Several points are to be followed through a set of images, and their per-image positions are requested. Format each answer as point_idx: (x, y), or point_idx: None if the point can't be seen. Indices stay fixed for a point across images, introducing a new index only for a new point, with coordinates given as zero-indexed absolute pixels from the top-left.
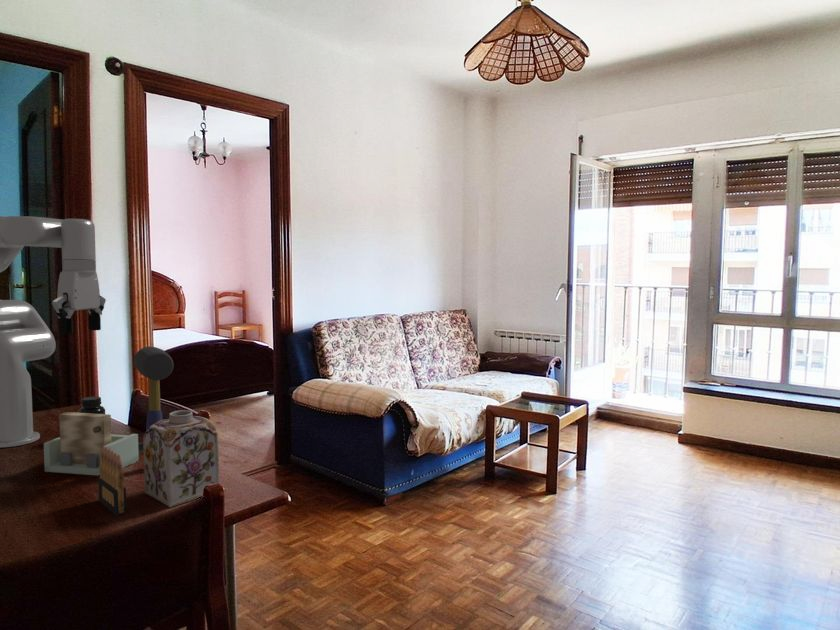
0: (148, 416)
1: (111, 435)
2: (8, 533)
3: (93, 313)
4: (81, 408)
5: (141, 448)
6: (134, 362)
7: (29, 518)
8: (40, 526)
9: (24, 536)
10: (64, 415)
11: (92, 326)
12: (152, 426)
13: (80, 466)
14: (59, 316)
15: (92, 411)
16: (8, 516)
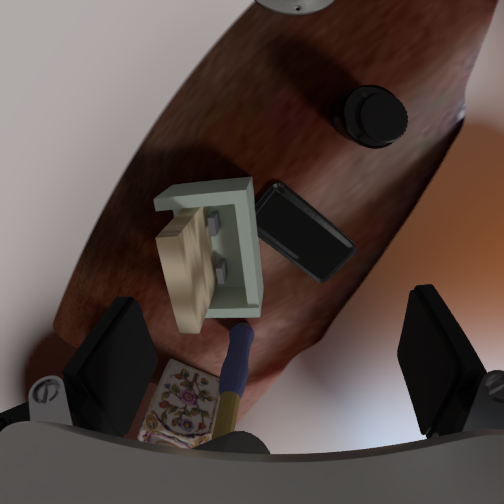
0: (219, 386)
1: (247, 270)
2: (62, 299)
3: (453, 426)
4: (358, 100)
5: (313, 262)
6: (210, 449)
7: (81, 293)
8: (80, 314)
9: (67, 315)
10: (159, 249)
11: (413, 332)
12: (141, 431)
13: None
14: (39, 400)
15: (355, 137)
16: (73, 271)
